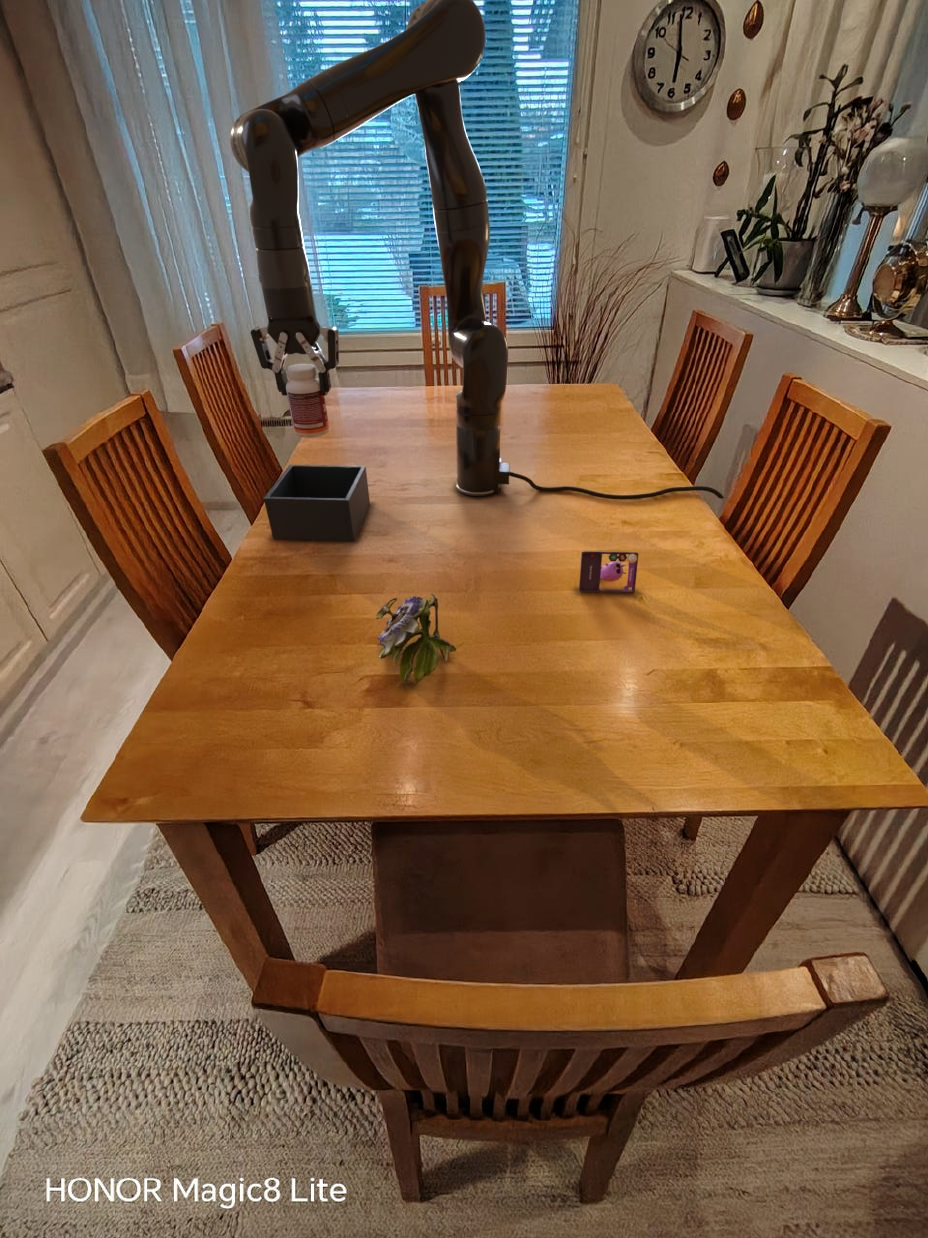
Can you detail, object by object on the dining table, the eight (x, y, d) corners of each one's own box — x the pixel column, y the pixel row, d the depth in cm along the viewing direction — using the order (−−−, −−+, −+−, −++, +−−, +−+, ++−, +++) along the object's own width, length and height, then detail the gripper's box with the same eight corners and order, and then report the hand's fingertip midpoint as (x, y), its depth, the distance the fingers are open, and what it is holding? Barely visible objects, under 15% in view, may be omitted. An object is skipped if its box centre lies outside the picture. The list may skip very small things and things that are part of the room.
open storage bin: (370, 504, 123) (365, 465, 118) (354, 541, 111) (348, 500, 106) (297, 502, 124) (289, 464, 119) (273, 539, 112) (263, 498, 107)
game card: (582, 552, 94) (639, 553, 94) (578, 546, 99) (632, 547, 99) (579, 593, 96) (635, 594, 96) (575, 585, 101) (628, 586, 101)
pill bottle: (335, 433, 104) (325, 367, 97) (302, 441, 101) (290, 374, 94) (321, 424, 108) (311, 360, 101) (289, 431, 105) (276, 365, 98)
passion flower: (395, 679, 88) (384, 599, 88) (466, 670, 87) (455, 589, 87) (373, 691, 77) (360, 601, 77) (453, 682, 76) (441, 589, 75)
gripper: (338, 278, 93) (351, 387, 103) (248, 278, 93) (271, 387, 104) (326, 285, 87) (342, 401, 97) (231, 286, 88) (256, 401, 98)
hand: (305, 393), depth 100 cm, fingers closed on pill bottle, 6 cm apart
